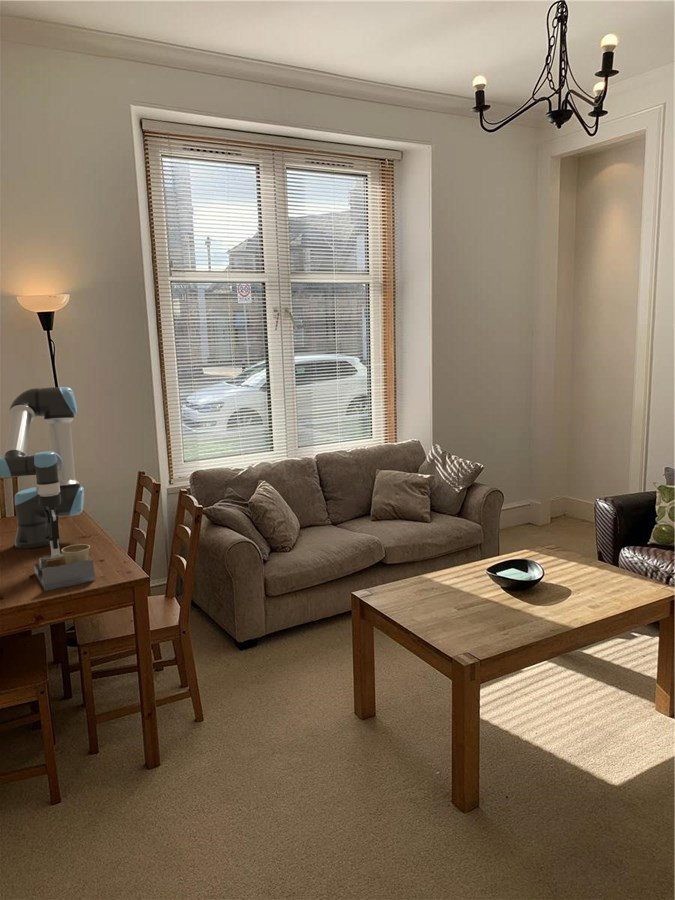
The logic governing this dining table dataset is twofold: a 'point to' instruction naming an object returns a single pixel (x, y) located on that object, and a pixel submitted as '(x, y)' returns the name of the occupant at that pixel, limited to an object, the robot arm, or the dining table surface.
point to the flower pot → (76, 553)
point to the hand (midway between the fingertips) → (56, 556)
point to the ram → (52, 561)
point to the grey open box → (65, 574)
